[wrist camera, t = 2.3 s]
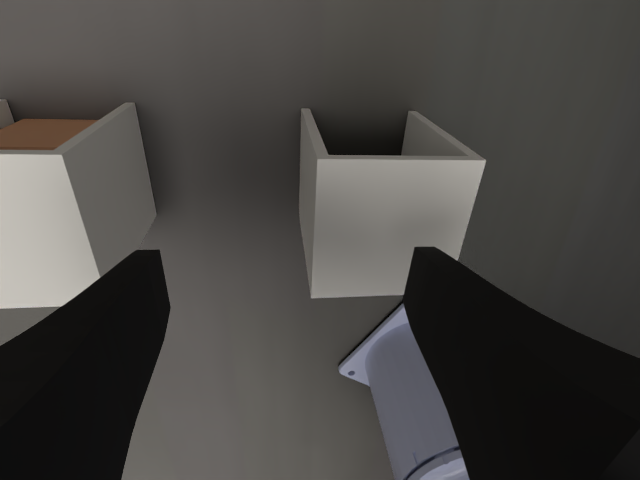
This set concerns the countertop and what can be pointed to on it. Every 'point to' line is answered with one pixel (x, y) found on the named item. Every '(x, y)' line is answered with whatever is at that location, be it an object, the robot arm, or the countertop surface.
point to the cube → (40, 133)
